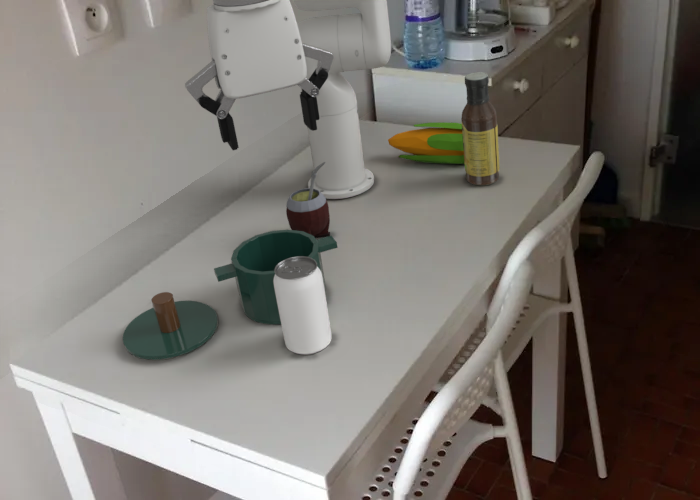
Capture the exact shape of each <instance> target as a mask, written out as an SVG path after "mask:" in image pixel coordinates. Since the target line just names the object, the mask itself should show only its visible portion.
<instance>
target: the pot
mask: <svg viewBox="0 0 700 500" xmlns="http://www.w3.org/2000/svg"><path fill="white" fill-rule="evenodd" d="M337 248H338V242H337V240H336V239H335V237H333V236H332V235H330V236H328V237H321V238H315V237H314V236H313V235H310V234H308V233H306V232H304V231H296V230H291V229H279V230H278V229H277V230H269V231H266V232H263V233H260V234H255V235H254V236H251V237H250V238H248V239H246V240H244V241H242V242H241V243H240V244H239V245H238V246H237V247H236V248H235V249H234V250H233V251H232V255H231V258H230V261H231V263H228V264H225V265H222V266H218V267H214V268H213V271H214V275H215V277H216V279H217V282H223V281H226V280H229V279H230V280H231V279H235V284H236V287H237V292H238V297H239V301H240V306H241V307H242V310H243V313H244V314H245V316H246V317H247V318H248V319H250V320H252V321H254V322H256V323H260V324H264V325H281V320H280V315H279V310H278V305H277V299H276V294H275V289H274V282H273V280H274V276H275V272H274V270H275V267H276V265H277V264H278V263H280V262H281V261H283V260H285V259H288V258H291V257H297V256H305V257H310V258H312V259H314V260H315V261H316V262H317V267H318V268H319V269H320V271H321V273H322V277H323V283H324V289H325V295H326V296H327V286H326V285H327V284H326V280H325V279H326V278H325V272H324V266H323V260H322V254H321V253H324V252H328V251H331V250H333V249H334V250H335V249H337Z"/></svg>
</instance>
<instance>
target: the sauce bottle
mask: <svg viewBox="0 0 700 500" xmlns="http://www.w3.org/2000/svg"><path fill="white" fill-rule="evenodd" d="M489 82H490V81H489V74H488V73H487V72H484V71H483V72H482V71H477V72H476V71H474V72H470V73H468V74H466V75H465V76H464V85H465V88H466V104H465V106H464V108H463V109H462V112H461V124H462V136H463V149H464V163H465V164H464V171H465V179H466V181H467V182H468V183H470V184H471V185H473V186H490V185H493V184H494V183H497V182H498V180H499V178H500V169H501V167H500V150H499V149H500V147H499V146H500V145H499V134H498V133H499V128H498V122H497V121H498V120H497V119H498V118H497V110H496V107H495V106H494V105H493V104H492V102H491V100H490V95H489Z"/></svg>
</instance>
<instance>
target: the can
mask: <svg viewBox="0 0 700 500" xmlns="http://www.w3.org/2000/svg"><path fill="white" fill-rule="evenodd" d="M274 272H275V276H274V280H273V282H274V289H275V294H276V299H277V305H278V310H279V315H280V320H281V324H280V326H281V330H282V335H283V339H284V340H283V341H284V344H285V347H286V348H287V349H288V350H289V351H290V352H292V353H293V354H296V355H300V356H301V355H302V356H308V355H314V354H317V353H319V352H321V351H323V350H325V349H326V348H327V347H328V346H329V344H330V343H331V341H332V337H333V336H332V329H331V321H330V315H329V309H328V303H327V294H326V295H325V289H324V283H323V277H322V273H321V271H320V269H319V268H318V267H317V262H316V261H315V260H314V259H312V258H310V257H305V256H297V257H291V258H288V259H285V260H283V261H281V262H280V263H278V264H277V265H276V267H275V270H274Z"/></svg>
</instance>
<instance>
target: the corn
mask: <svg viewBox="0 0 700 500" xmlns="http://www.w3.org/2000/svg"><path fill="white" fill-rule="evenodd" d="M413 126H414V127H415V128H416V129H411V130H406V131H403V132H399V133H396V134H394V135H393V136H391V137H390V138H388V139H387V141H388V145H389V146H391V147H393V148H394V149H397V150H398V151H400V152H403V153H407V154H400V155H398V158H400V159H404V160H408V161H412V162H417V163H428V164H447V165H449V164H457V165H465V163H464V149H463V136H462V123H461V122H440V121H439V122H423V123H417V124H416V123H415V124H413ZM417 127H418V129H417ZM421 127H425V128H421Z"/></svg>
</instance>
